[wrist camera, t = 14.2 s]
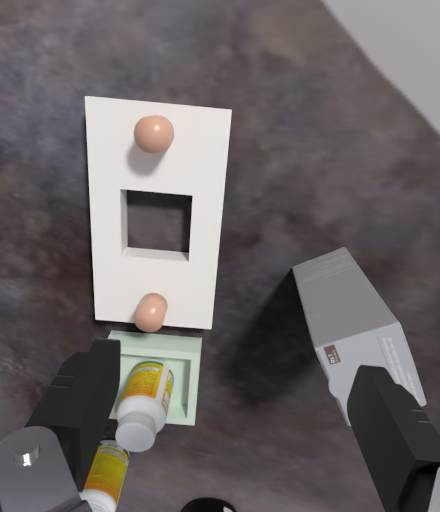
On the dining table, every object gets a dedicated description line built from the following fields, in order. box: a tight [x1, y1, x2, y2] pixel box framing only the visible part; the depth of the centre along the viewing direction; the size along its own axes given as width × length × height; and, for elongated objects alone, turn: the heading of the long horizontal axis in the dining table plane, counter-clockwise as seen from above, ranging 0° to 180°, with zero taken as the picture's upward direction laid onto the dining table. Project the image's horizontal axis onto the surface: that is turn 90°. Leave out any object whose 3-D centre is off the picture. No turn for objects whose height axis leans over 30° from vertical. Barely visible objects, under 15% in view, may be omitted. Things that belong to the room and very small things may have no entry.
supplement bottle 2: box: [115, 359, 174, 452], centre depth 41 cm, size 5×5×10 cm
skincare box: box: [292, 247, 426, 426], centre depth 34 cm, size 8×7×16 cm
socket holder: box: [85, 96, 232, 332], centre depth 37 cm, size 13×23×6 cm, turn 175°
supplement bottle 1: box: [78, 440, 130, 512], centre depth 48 cm, size 6×6×10 cm
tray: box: [107, 330, 202, 425], centre depth 45 cm, size 11×11×3 cm
